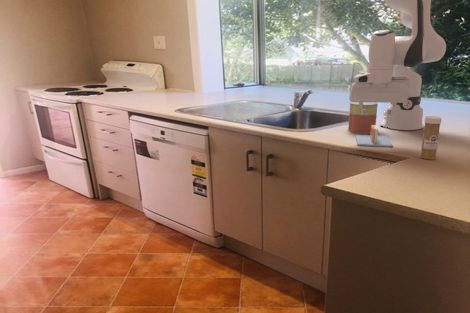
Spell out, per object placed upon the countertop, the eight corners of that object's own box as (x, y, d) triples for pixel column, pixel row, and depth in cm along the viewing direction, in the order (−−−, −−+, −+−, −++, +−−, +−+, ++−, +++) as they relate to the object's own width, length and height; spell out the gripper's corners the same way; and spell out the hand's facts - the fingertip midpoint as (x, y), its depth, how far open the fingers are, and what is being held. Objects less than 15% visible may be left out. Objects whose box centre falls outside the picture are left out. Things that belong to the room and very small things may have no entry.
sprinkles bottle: (426, 160, 117) (432, 118, 113) (416, 156, 121) (422, 115, 117) (439, 159, 117) (445, 117, 114) (429, 155, 122) (434, 115, 118)
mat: (355, 136, 150) (355, 134, 150) (387, 137, 147) (387, 136, 147) (357, 145, 135) (357, 144, 135) (392, 147, 132) (392, 145, 132)
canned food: (377, 129, 163) (380, 102, 159) (372, 134, 153) (375, 105, 150) (351, 127, 168) (353, 100, 165) (345, 131, 159) (346, 103, 156)
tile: (369, 137, 145) (371, 125, 144) (374, 137, 145) (376, 125, 143) (371, 142, 138) (372, 129, 136) (376, 142, 137) (378, 129, 136)
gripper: (408, 75, 135) (404, 113, 139) (350, 76, 140) (348, 111, 145) (412, 77, 129) (407, 116, 134) (351, 77, 134) (348, 115, 139)
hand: (376, 114), depth 139 cm, fingers open, 8 cm apart
